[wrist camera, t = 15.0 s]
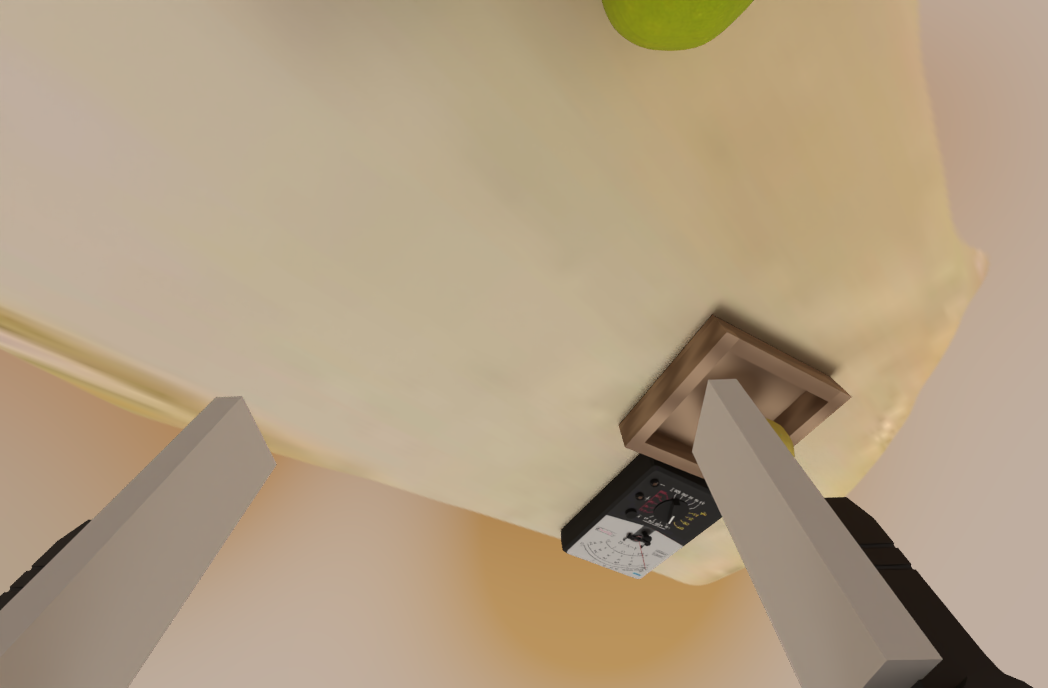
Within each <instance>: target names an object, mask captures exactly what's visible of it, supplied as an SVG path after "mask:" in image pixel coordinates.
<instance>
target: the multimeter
mask: <svg viewBox="0 0 1048 688" xmlns="http://www.w3.org/2000/svg"><path fill="white" fill-rule="evenodd" d="M721 517H722V515H721V513H720V511H719V509H718V507H717V504H716V502H715V500H714V498H713V496H712V494H711V492H710V489H709V487H708V485H707V483H706V481H705V479H703V478H700V477H698V476H695V475H693V474H691V473H688V472H686V471H683V470H681V469H678V468H676V467H673V466H671V465H668V464H666V463H663V462H661V461H658V460H656V459H653V458H651V457H648V456H646V455H644V454H641V453H640V454H639V455H638V456H637V457H636V458H635V459H634V460H633V461H632V462H631V463H630V464H629V465H628V466H627V467H626V468H625V469H624V470H623V471H622V472H621V473H620V474H619V475H618V476H617V477H615V478H614V479H613V480H612V481H611V482H610V483H609V484H608V485H607V486H606V487H605V488H604V489H603V490H602V491H601V492H600V493H599V494H598V495H597V496H596V497H595V498H594V499H593V500H592V501H591V502H590V503H589V504H588V505H587V506H586V507H584V508H583V509H582V510H581V511H580V512H579V513H578V514H577V515H576V516H575V517H574V518H573V519H572V520H571V521H570V522H569V523H568V524H567V525H566V526H565V527H564V528H563V529H562V531H561V542H562V548H563V551H565V552H566V553H568V554H570V555H573V556H576V557H578V558H582V559H584V560H587V561H589V562H592V563H595V564H598V565H600V566H603V567H606V568H609V569H611V570H614V571H617V572H619V573H622V574H625V575H628V576H630V577H633V578H636V579H640V578H642V577H643V576H645V575H646V574H647V573H649V572H650V571H651V570H653V569H654V568H655V567H657V566H658V565H659V564H661V563H662V562H663V561H665V560H666V559H667V558H669V557H670V556H671V555H673V554H674V553H675V552H677V551H678V550H679V549H680V548H682V547H683V546H684V545H686V544H687V543H688V542H690V541H691V540H692V539H694V538H695V537H696V536H698V535H699V534H700V533H702V532H703V531H704V530H706V529H707V528H708V527H710V526H711V525H712V524H714V523H715V522H716V521H717V520H719V519H720V518H721Z"/></svg>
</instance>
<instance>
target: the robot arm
mask: <svg viewBox="0 0 1048 688" xmlns="http://www.w3.org/2000/svg"><path fill="white" fill-rule="evenodd" d="M692 453H693V455H694V457H695V459H696V461H697V464H698V466H699V468H700V470H701V472H702V474H703V476H704V479H705V481H706V483H707V485H708V487H709V489H710V492H711V494H712V496H713V498H714V500H715V502H716V504H717V507H718V509H719V511H720V513H721V515H722V517H723V520H724V522H725V524H726V526H727V528H728V530H729V532H730V535H731V537H732V539H733V541H734V543H735V545H736V547H737V550H738V552H739V554H740V556H741V558H742V560H743V563H744V565H745V567H746V569H747V571H748V573H749V575H750V577H751V580H752V582H753V584H754V586H755V588H756V590H757V593H758V595H759V597H760V599H761V601H762V603H763V606H764V608H765V610H766V612H767V614H768V616H769V618H770V621H771V623H772V625H773V627H774V629H775V631H776V634H777V636H778V638H779V640H780V642H781V644H782V647H783V649H784V651H785V653H786V655H787V657H788V659H789V662H790V664H791V666H792V668H793V670H794V672H795V675H796V677H797V679H798V681H799V683H800V685H801V687H802V688H1033V687H1031V686H1030V685H1028V684H1027V683H1025V682H1023V681H1021V680H1018V679H1016V678H1013V677H1011V676H1009V675H1006V674H1004V673H1003V672H1002V671H1001V670H999V669H998V668H997V667H996V665H994V663H993V662H992V661H991V660H990V659H989V658H988V657H987V656H986V655H985V654H984V652H983V651H982V650H981V649H980V648H979V646H978V645H977V644H976V643H975V641H974V640H973V639H972V638H971V637H970V635H969V634H968V633H967V632H966V631H965V629H964V628H963V627H962V626H961V624H960V623H959V622H958V621H957V619H956V618H955V617H954V616H953V615H952V614H951V612H950V611H949V610H948V608H947V607H946V606H945V605H944V604H943V602H942V601H941V600H940V599H939V597H938V596H937V595H936V594H935V593H934V591H933V590H932V589H931V588H930V586H929V585H928V584H927V583H926V582H925V580H924V579H923V578H922V577H921V575H920V574H919V573H918V572H917V571H916V570H913V569H912V567H911V563H910V562H909V561H908V560H907V558H906V557H905V556H904V555H903V553H902V552H901V551H900V550H899V549H898V548H895V546H894V543H893V541H892V540H891V539H890V538H889V536H888V535H887V534H886V533H885V531H884V530H883V529H882V528H881V527H880V525H879V524H878V523H877V522H876V520H874V518H873V517H872V516H870V515H869V514H868V513H866V512H865V511H864V510H862V509H861V508H860V507H858V506H857V505H856V504H855V503H853V502H852V501H851V500H849V499H848V498H847V497H837V498H824V497H823V496H822V494H821V493H820V492H819V490H818V489H817V488H816V486H815V485H814V484H813V482H812V481H811V480H810V478H809V477H808V475H807V474H806V473H805V471H804V470H803V469H802V467H801V466H800V465H799V463H798V462H797V461H796V459H795V458H794V456H793V455H792V454H791V452H790V451H789V450H788V448H787V447H786V446H785V444H784V443H783V442H782V440H781V439H780V437H779V436H778V435H777V433H776V432H775V431H774V429H773V428H772V427H771V425H770V424H769V423H768V421H767V420H766V418H765V417H764V416H763V414H762V413H761V412H760V410H759V409H758V408H757V406H756V405H755V404H754V402H753V401H752V399H751V398H750V397H749V395H748V394H747V393H746V391H745V390H744V389H743V387H742V386H741V385H740V383H739V382H738V380H737V379H716V380H708V383H707V388H706V392H705V396H704V401H703V405H702V410H701V414H700V418H699V423H698V427H697V432H696V436H695V440H694V445H693V449H692ZM275 466H276V462H275V460H274V458H273V456H272V454H271V452H270V450H269V448H268V446H267V444H266V442H265V440H264V438H263V436H262V434H261V432H260V430H259V428H258V426H257V424H256V422H255V420H254V418H253V416H252V414H251V412H250V410H249V408H248V406H247V405H246V403H245V401H244V399H243V397H242V396H237V397H216V398H215V399H214V400H213V401H212V402H211V403H210V404H209V405H208V406H207V407H206V408H205V409H204V410H203V411H202V412H201V413H200V414H199V415H198V416H197V417H196V418H194V419H193V420H192V421H191V422H190V423H189V424H188V425H187V426H186V427H185V428H184V429H183V430H182V431H181V432H180V434H178V435H177V436H176V437H175V438H174V439H173V440H172V441H171V442H170V443H169V444H168V445H167V446H166V447H165V448H164V449H163V450H162V451H161V452H160V453H159V454H158V455H157V456H156V457H155V458H154V459H153V460H152V461H151V462H150V463H149V464H148V465H147V466H146V467H145V468H144V469H143V470H142V471H141V472H140V473H139V474H138V475H137V476H136V477H135V478H134V479H133V480H132V481H131V482H130V483H129V484H128V485H127V486H126V487H125V488H124V489H123V490H122V491H121V492H120V493H119V494H118V495H117V496H116V497H115V498H114V499H113V500H112V501H111V502H110V503H109V504H108V505H107V506H106V507H105V508H103V509H102V510H101V511H100V513H98V514H97V516H95V517H94V519H92V520H88V521H86V522H84V523H83V524H81V525H80V526H79V527H77V528H76V529H75V530H73V531H71V532H70V533H68V534H67V535H66V536H64V537H63V538H61V539H60V540H59V541H57V542H56V543H55V544H54V545H53V546H52V547H51V548H50V549H49V550H48V551H47V552H46V553H45V554H44V555H43V556H42V557H40V558H39V559H38V560H37V561H36V562H35V563H34V564H33V565H32V569H31V570H30V571H26V572H25V573H24V574H23V575H22V576H21V577H20V578H19V579H18V580H16V582H14V583H13V584H12V585H11V586H10V590H9V591H8V592H4V593H3V594H2V595H1V596H0V688H128V687H129V685H130V684H131V682H132V681H133V679H134V678H135V676H136V675H137V673H138V672H139V670H140V669H141V667H142V665H143V664H144V663H145V661H146V660H147V658H148V657H149V655H150V654H151V652H152V651H153V649H154V648H155V646H156V645H157V643H158V642H159V640H160V639H161V637H162V636H163V634H164V633H165V631H166V630H167V628H168V627H169V625H170V624H171V622H172V621H173V619H174V618H175V616H176V615H177V613H178V612H179V610H180V609H181V607H182V606H183V604H184V603H185V601H186V600H187V598H188V597H189V595H190V594H191V592H192V591H193V589H194V588H195V586H196V585H197V583H198V582H199V580H200V579H201V577H202V576H203V574H204V573H205V571H206V570H207V568H208V567H209V565H210V564H211V562H212V561H213V559H214V558H215V556H216V554H217V553H218V552H219V550H220V549H221V547H222V546H223V544H224V543H225V541H226V540H227V538H228V537H229V535H230V534H231V532H232V531H233V529H234V528H235V526H236V525H237V523H238V522H239V520H240V519H241V517H242V516H243V514H244V513H245V511H246V510H247V508H248V507H249V505H250V504H251V502H252V501H253V499H254V498H255V496H256V495H257V493H258V492H259V490H260V489H261V487H262V486H263V484H264V483H265V481H266V480H267V478H268V477H269V475H270V474H271V472H272V471H273V469H274V468H275Z"/></svg>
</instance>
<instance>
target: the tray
mask: <svg viewBox="0 0 1048 688" xmlns="http://www.w3.org/2000/svg"><path fill="white" fill-rule="evenodd" d="M716 379H737V380H738V382H739V383H740V385H741V386H742V387H743V389H744V390H745V391H746V393H747V394H748V395H749V397H750V398H751V399H752V401H753V402H754V404H755V405H756V406H757V408H758V409H759V410H760V412H761V413H762V414H763V416H764V417H765V418H767V419H770V420H772V421H774V422H776V423H777V424H779V425H781V426H782V427H783V428H784V429H785V431H786V432H787V434H788V435H789V437H790V438H791V440H792V443H793V447H794V446H795V445H796V444H797V443H798V442H799V441H801V440H802V439H803V438H804V437H805V436H806V435H808V434H809V433H810V432H811V431H812V430H814V429H815V428H816V427H817V426H818V425H819V424H821V423H822V422H823V421H824V420H825V419H826V418H828V417H829V416H830V415H831V414H832V413H834V412H835V411H836V410H837V409H838V408H839V407H841V406H842V405H843V404H844V403H845V402H846V401H848V400H849V399H850V398H851V396H850V395H849V394H848V393H847V392H846V391H845V390H844V389H843V388H842V387H841V386H840V385H838V384H837V383H836V382H835V381H834V380H833V379H832V378H831V377H830V376H828V375H826V374H824V373H822V372H820V371H818V370H816V369H814V368H813V367H811V366H809V365H807V364H805V363H803V362H801V361H799V360H797V359H795V358H794V357H792V356H790V355H788V354H786V353H784V352H782V351H780V350H778V349H776V348H775V347H773V346H771V345H769V344H767V343H765V342H763V341H761V340H759V339H757V338H756V337H754V336H752V335H750V334H748V333H746V332H744V331H742V330H740V329H738V328H737V327H735V326H733V325H731V324H729V323H727V322H725V321H723V320H721V319H719V318H718V317H716V316H714V315H712V316H711V317H710V318H709V319H708V320H707V322H706V323H705V324H704V325H703V326H702V327H701V329H700V330H699V331H698V332H697V333H696V335H695V336H694V337H693V338H692V339H691V340H690V342H689V343H688V344H687V345H686V346H685V348H684V349H683V350H682V351H681V352H680V353H679V355H678V356H677V357H676V358H675V359H674V361H673V362H672V363H671V364H670V365H669V366H668V368H667V369H666V370H665V371H664V372H663V374H662V375H661V376H660V377H659V378H658V379H657V381H656V382H655V383H654V384H653V385H652V387H651V388H650V389H649V390H648V391H647V392H646V394H645V395H644V396H643V397H642V398H641V400H640V401H639V402H638V403H637V404H636V406H635V407H634V408H633V409H632V410H631V411H630V413H629V414H628V415H627V416H626V417H625V419H624V420H623V421H622V422H621V423H620V424H619V428H620V431H621V435H622V438H623V442H624V446H625V447H626V448H629V449H631V450H634V451H636V452H639V453H641V454H644V455H646V456H648V457H651V458H653V459H656V460H658V461H661V462H663V463H666V464H668V465H671V466H673V467H676V468H678V469H681V470H683V471H686V472H688V473H691V474H693V475H695V476H698V477H700V478H703V479H704V476H703V474H702V472H701V470H700V468H699V466H698V464H697V461H696V459H695V457H694V455H693V453H692V449H693V445H694V440H695V436H696V432H697V427H698V423H699V418H700V414H701V410H702V405H703V401H704V396H705V392H706V388H707V383H708V380H716Z"/></svg>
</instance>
